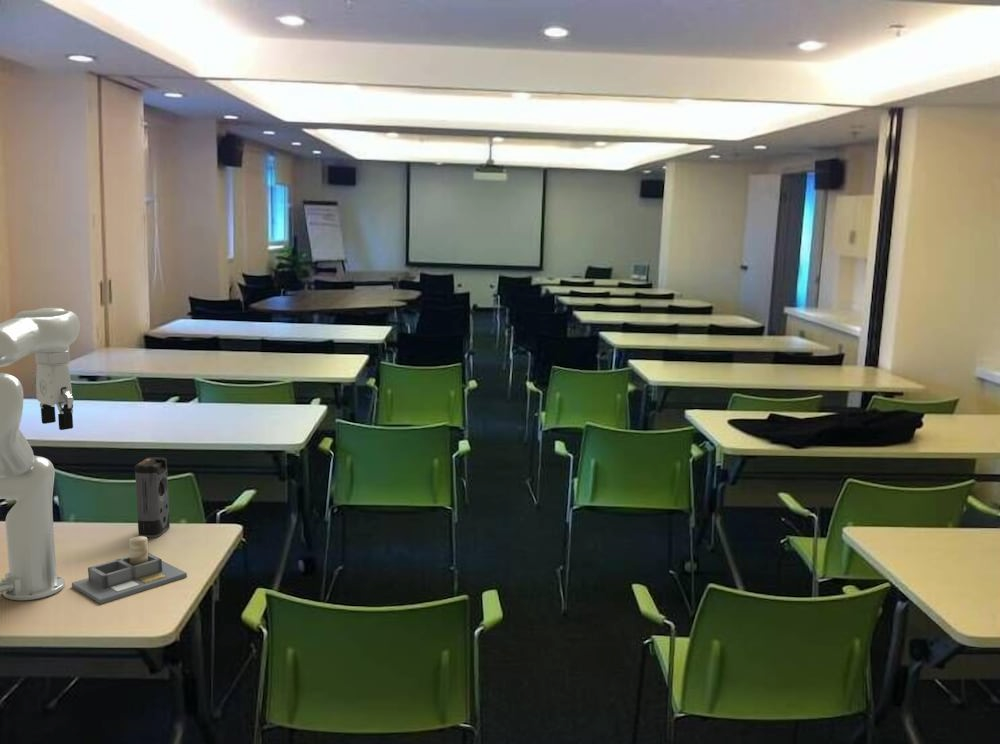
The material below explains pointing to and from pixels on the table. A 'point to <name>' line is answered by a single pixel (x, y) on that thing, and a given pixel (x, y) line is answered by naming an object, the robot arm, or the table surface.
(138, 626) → the table surface
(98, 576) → the charging dock
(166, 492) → the electronic device
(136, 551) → the birch plug
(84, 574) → the table surface
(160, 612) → the table surface
